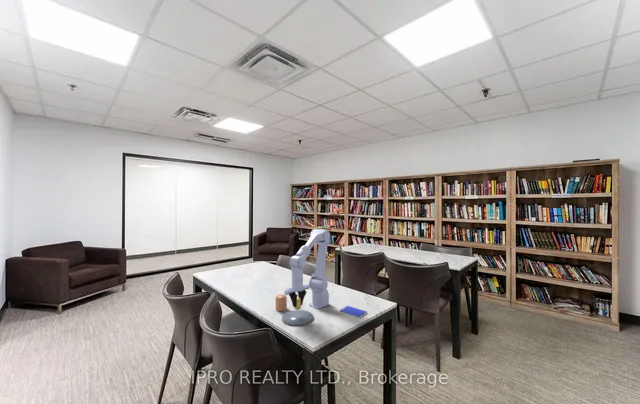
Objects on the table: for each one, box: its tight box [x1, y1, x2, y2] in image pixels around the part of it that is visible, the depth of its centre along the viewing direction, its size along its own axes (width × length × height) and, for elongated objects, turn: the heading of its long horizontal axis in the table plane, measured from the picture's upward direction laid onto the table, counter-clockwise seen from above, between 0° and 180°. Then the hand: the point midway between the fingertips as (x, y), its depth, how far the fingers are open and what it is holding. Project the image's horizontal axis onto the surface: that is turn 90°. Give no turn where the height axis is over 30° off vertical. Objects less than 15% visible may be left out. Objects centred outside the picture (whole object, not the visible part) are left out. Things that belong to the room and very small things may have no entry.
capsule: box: [294, 297, 302, 310], centre depth 132 cm, size 3×3×5 cm
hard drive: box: [339, 305, 368, 319], centre depth 139 cm, size 2×8×12 cm
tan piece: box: [275, 294, 288, 312], centre depth 145 cm, size 6×6×7 cm
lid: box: [281, 309, 314, 327], centre depth 132 cm, size 16×16×1 cm
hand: (297, 305), depth 132 cm, fingers closed on capsule, 3 cm apart
